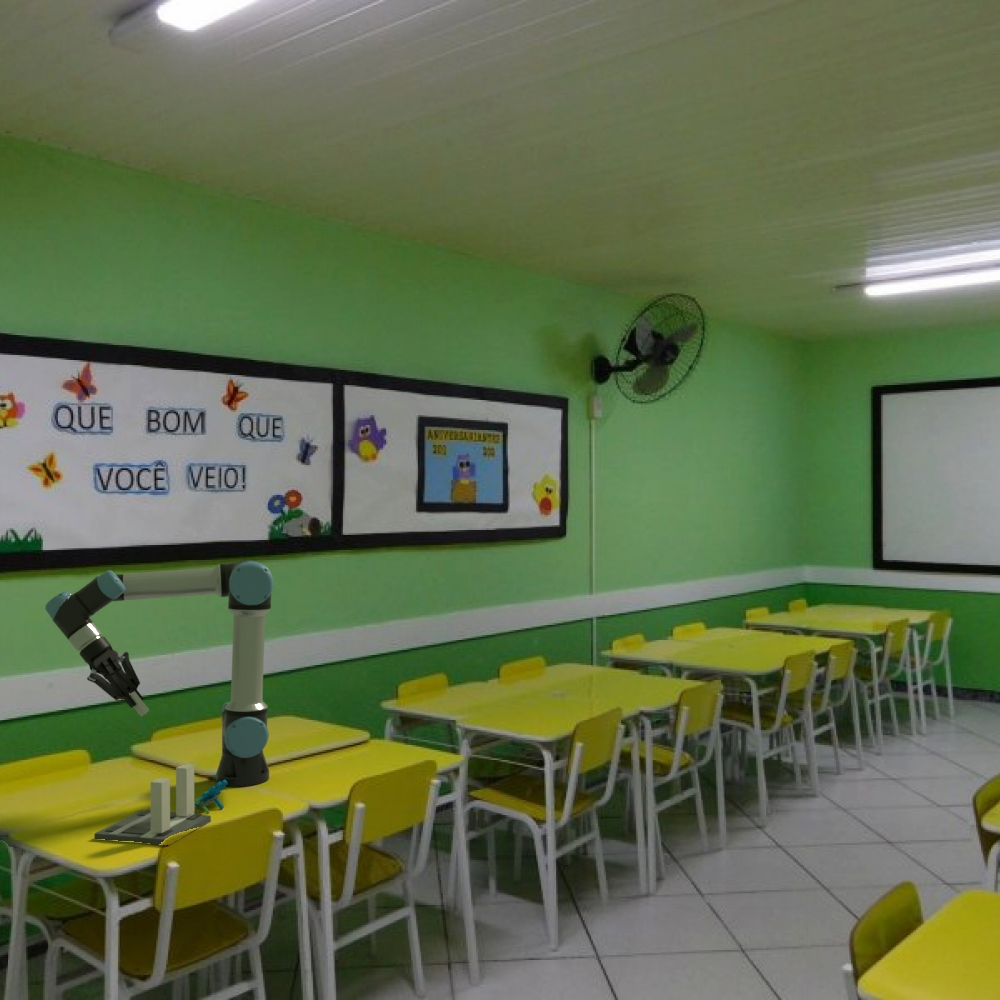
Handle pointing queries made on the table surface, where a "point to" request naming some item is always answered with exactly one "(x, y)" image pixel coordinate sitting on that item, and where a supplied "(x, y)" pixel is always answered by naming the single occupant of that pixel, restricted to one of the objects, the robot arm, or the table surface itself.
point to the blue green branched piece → (211, 796)
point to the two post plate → (180, 821)
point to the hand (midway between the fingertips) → (145, 713)
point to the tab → (160, 805)
